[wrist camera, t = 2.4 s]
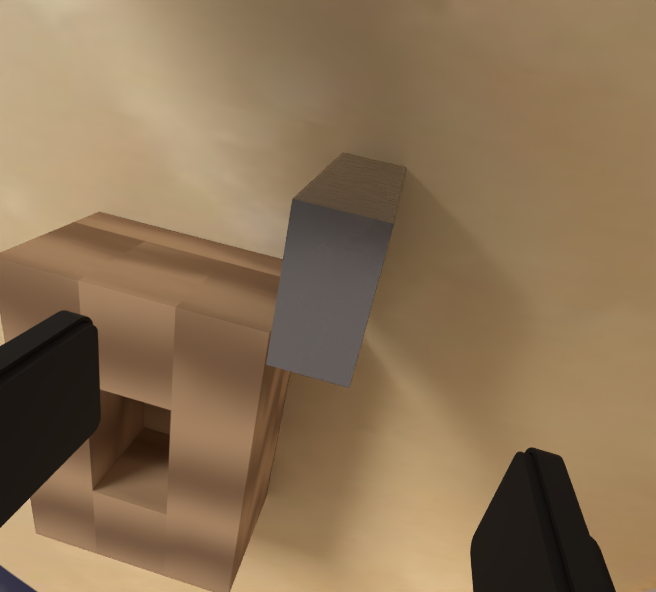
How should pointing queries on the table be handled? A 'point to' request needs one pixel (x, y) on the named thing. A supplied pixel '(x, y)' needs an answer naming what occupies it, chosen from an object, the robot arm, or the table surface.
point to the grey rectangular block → (333, 267)
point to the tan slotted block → (159, 392)
